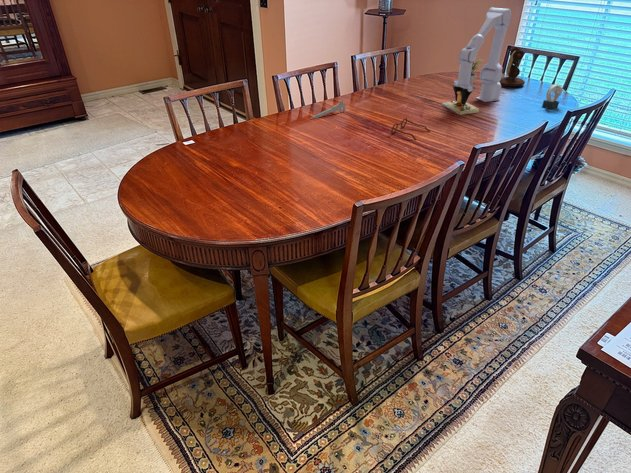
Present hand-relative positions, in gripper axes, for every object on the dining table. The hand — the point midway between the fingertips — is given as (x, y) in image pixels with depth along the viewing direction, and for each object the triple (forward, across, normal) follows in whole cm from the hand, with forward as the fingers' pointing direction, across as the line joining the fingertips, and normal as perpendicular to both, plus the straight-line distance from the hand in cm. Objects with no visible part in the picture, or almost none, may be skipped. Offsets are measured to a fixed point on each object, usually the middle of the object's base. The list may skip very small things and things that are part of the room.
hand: (460, 102), depth 220 cm
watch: (+3, +14, +42) cm, 45 cm away
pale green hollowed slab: (+3, 0, 0) cm, 3 cm away
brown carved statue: (+3, -28, +49) cm, 56 cm away
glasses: (+4, +23, -38) cm, 45 cm away
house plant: (+3, -36, +27) cm, 45 cm away
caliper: (+4, -14, -66) cm, 68 cm away
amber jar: (+2, 0, 0) cm, 2 cm away
